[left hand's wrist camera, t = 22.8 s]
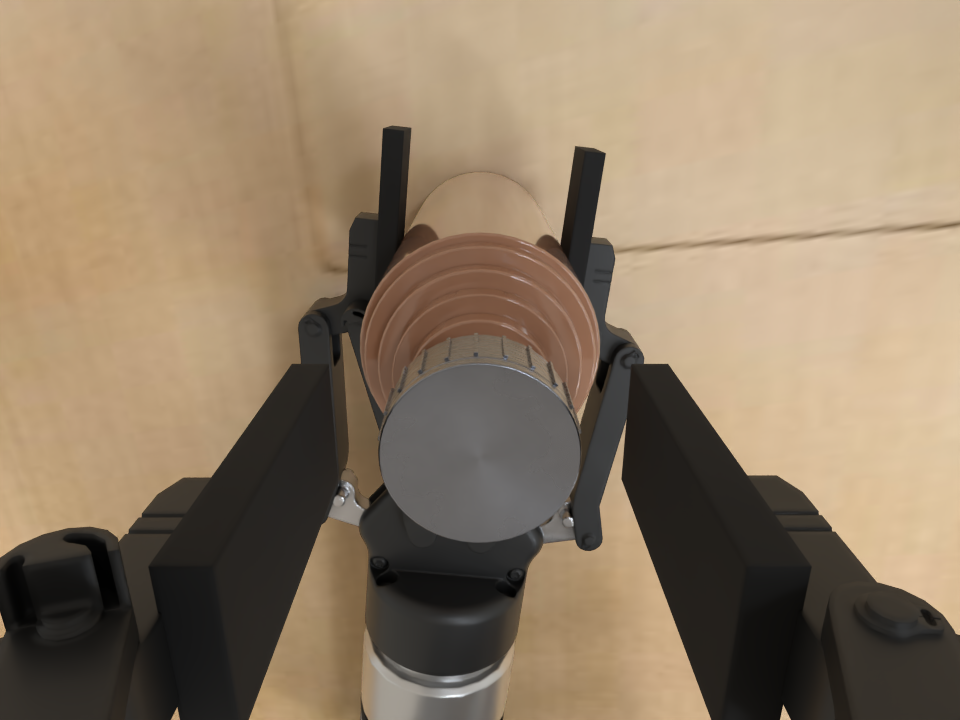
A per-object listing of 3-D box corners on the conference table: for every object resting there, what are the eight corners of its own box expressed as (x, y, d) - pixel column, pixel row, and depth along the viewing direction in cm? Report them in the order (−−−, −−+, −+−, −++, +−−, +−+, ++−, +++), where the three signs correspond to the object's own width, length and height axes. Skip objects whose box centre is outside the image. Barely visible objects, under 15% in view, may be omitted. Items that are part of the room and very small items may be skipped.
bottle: (524, 320, 35) (580, 602, 15) (399, 285, 34) (290, 534, 15) (564, 193, 32) (692, 335, 13) (431, 154, 32) (356, 241, 12)
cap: (424, 520, 16) (419, 567, 14) (358, 364, 14) (343, 397, 13) (594, 472, 15) (608, 514, 14) (542, 305, 14) (550, 331, 12)
